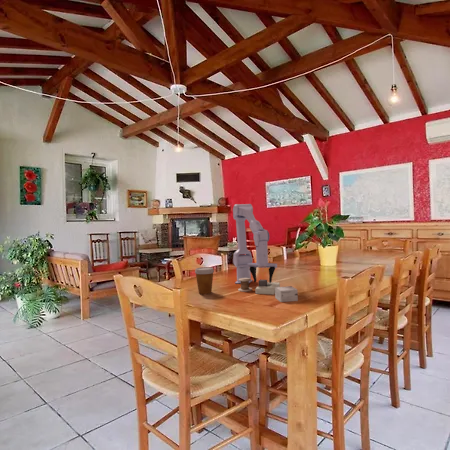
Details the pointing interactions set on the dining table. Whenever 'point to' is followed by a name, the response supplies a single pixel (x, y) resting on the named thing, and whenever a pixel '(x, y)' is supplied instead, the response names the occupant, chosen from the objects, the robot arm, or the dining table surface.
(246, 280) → the bobbin post
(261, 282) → the block
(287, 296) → the small box
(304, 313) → the dining table surface
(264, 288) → the notch board
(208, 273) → the disposable coffee cup
